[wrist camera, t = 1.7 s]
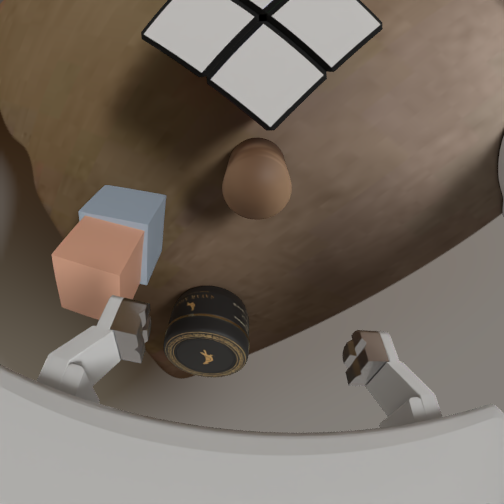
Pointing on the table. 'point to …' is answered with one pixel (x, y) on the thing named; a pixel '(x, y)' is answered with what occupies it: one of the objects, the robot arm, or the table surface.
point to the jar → (208, 332)
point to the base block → (132, 218)
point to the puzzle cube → (262, 47)
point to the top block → (97, 265)
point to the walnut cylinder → (256, 179)
